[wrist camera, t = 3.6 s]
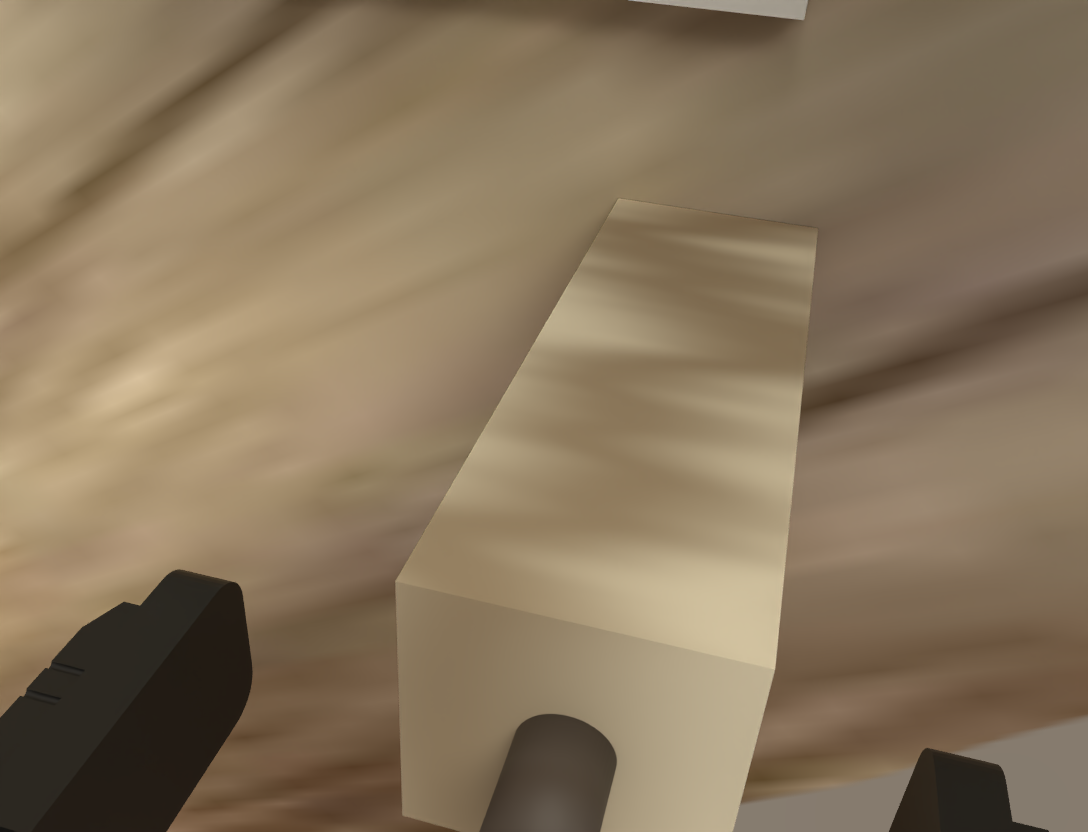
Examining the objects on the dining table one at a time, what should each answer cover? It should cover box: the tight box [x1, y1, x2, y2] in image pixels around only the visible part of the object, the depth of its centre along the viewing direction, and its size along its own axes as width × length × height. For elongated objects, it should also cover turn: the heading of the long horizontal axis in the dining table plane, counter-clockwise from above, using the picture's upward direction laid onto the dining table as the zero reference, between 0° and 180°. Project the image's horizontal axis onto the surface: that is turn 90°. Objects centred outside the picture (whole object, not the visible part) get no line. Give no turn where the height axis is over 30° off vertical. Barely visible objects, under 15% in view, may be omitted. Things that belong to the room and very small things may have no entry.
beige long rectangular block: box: [395, 198, 818, 832], centre depth 16 cm, size 4×4×14 cm
